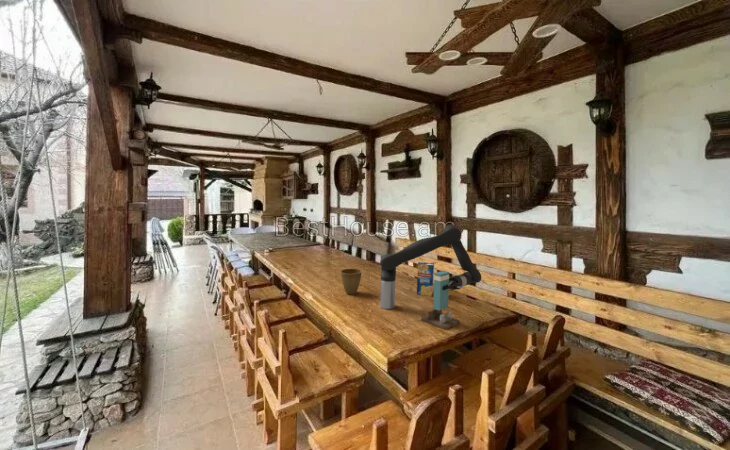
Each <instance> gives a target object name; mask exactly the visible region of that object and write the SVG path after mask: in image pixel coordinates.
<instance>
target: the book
mask: <svg viewBox="0 0 730 450" xmlns="http://www.w3.org/2000/svg"><path fill="white" fill-rule="evenodd" d="M449 278H450V272H449V271H446V270H441V271H438V272H435V273H434V276H433V309H436V310H439V311H440V310H442V311H443V310H445V309H447V308H449V297H450V296H449V291H450V289H449V290H448V289H447V290H442V289H443V286H445V285H448V284H449Z"/></svg>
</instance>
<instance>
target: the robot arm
mask: <svg viewBox="0 0 730 450" xmlns="http://www.w3.org/2000/svg"><path fill="white" fill-rule="evenodd" d="M461 237H462V232H461V230H460V229H459V228H458V227H457V226H456V225H454V224H449V223H448V224H447V225H446V226H444V228H443V232H441V233H439V234H438V235H435V236H429V237H424V238H420V239H418V240H416V241H414V242H412V243H410V244H408V245H407V246H406V247H404V248H403V249H401V250H399V251H397V252H394V253H385V254H384V255H383V256H382V257H381V259H380V270H381V271H380V297H379V298H380V300H379V302H380V303H379V306H380V308H382V309H384V310H393V309H394V308H395V307H396V279H397V278H396V276H397V274H396V273H397V267H398V266H401V265H402V264H404V263H406V262H410V261H411V260H412V261H413V260H415V259H417V258H420V257H422V256H424V255H427V254H428V253H430V252H432V251H434V250H437V249H439V248H441V247H444V246H447V245H451V248H452V249H453V251H454V254H455V257H456V259H457V261H458V263H459V265H460V267H461V269H462V271H464V272H463V273H460V274H457V275H452V276H449V284H448V285H445V286H443V289H442V290H447V289H448V290H449V291H456V290H460V289H461V288H464V287H465V286H468V285H470V284H473V283H474V284H476V283H477V284H478V283H480V282H481V281H482V274H481V272H480V270H479V269H478V268H477V267H476V266H475V264H474V263H473V262H472V259H471V257H470V255H469V253H468V252H467V250H466V248H465V246H464V245H463V242H462V240H461Z"/></svg>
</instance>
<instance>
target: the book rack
mask: <svg viewBox="0 0 730 450" xmlns="http://www.w3.org/2000/svg"><path fill="white" fill-rule="evenodd" d="M426 312H427V313H426V315H425V316H422V317H421V318H420V321H421V322H423V323H426V324H429V325H431V326H433V327H435V328H439V329H441V330H443V331H446V330H448V329H450V328H452V327H455V326H457V325H459V324H460V323H461V320H459V319H457V318H453V317H452V316H453V311H452V310H450V311H447V312H445V313H443V309H442V310H440V311H439V310H436V309H434V308H433V309H430V310H429V311H426Z"/></svg>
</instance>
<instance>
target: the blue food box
mask: <svg viewBox="0 0 730 450" xmlns="http://www.w3.org/2000/svg"><path fill="white" fill-rule="evenodd" d="M434 269H435V262H424V261H423V262H422V261H419V262H417V271H416V272H417V273H416V274H417V275H416V279H417V280H416V295H418V296H430V297H433V296H434V271H435V270H434Z"/></svg>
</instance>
